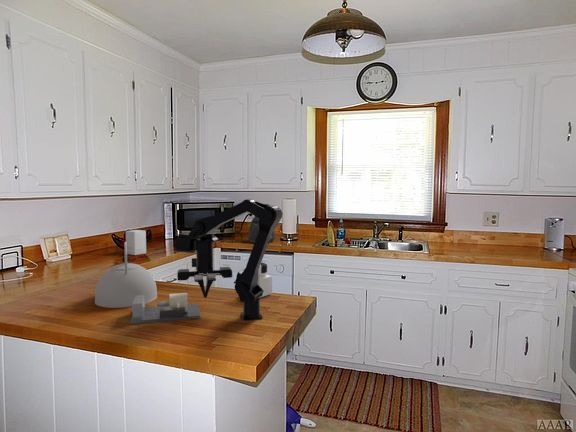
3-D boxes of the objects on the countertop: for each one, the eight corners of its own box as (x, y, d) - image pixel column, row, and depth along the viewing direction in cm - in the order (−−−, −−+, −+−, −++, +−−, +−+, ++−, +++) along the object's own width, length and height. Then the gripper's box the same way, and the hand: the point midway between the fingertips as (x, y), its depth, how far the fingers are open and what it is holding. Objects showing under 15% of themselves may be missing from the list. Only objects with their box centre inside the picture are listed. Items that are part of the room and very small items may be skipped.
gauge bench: (200, 318, 130) (200, 300, 130) (130, 324, 124) (129, 306, 124) (198, 305, 144) (198, 290, 143) (135, 310, 138) (134, 294, 137)
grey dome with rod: (96, 292, 160) (95, 238, 159) (154, 287, 169) (153, 236, 167) (92, 311, 138) (90, 248, 136) (159, 303, 146) (158, 244, 145)
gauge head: (188, 315, 130) (187, 300, 129) (156, 317, 127) (156, 302, 127) (187, 306, 139) (187, 292, 138) (158, 308, 136) (157, 294, 136)
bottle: (266, 244, 291) (267, 204, 289) (247, 243, 297) (247, 204, 295) (276, 241, 308) (276, 203, 306) (257, 240, 314) (257, 203, 311)
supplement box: (146, 253, 251) (146, 230, 250) (134, 255, 243) (134, 231, 242) (137, 252, 256) (137, 229, 254) (125, 254, 248) (125, 230, 247)
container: (258, 290, 165) (258, 260, 164) (272, 294, 160) (272, 263, 159) (245, 294, 159) (245, 263, 158) (259, 298, 154) (259, 266, 153)
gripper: (228, 249, 146) (228, 289, 148) (177, 251, 141) (177, 293, 142) (232, 254, 136) (232, 297, 137) (177, 256, 131) (177, 301, 132)
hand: (205, 297), depth 137 cm, fingers closed
